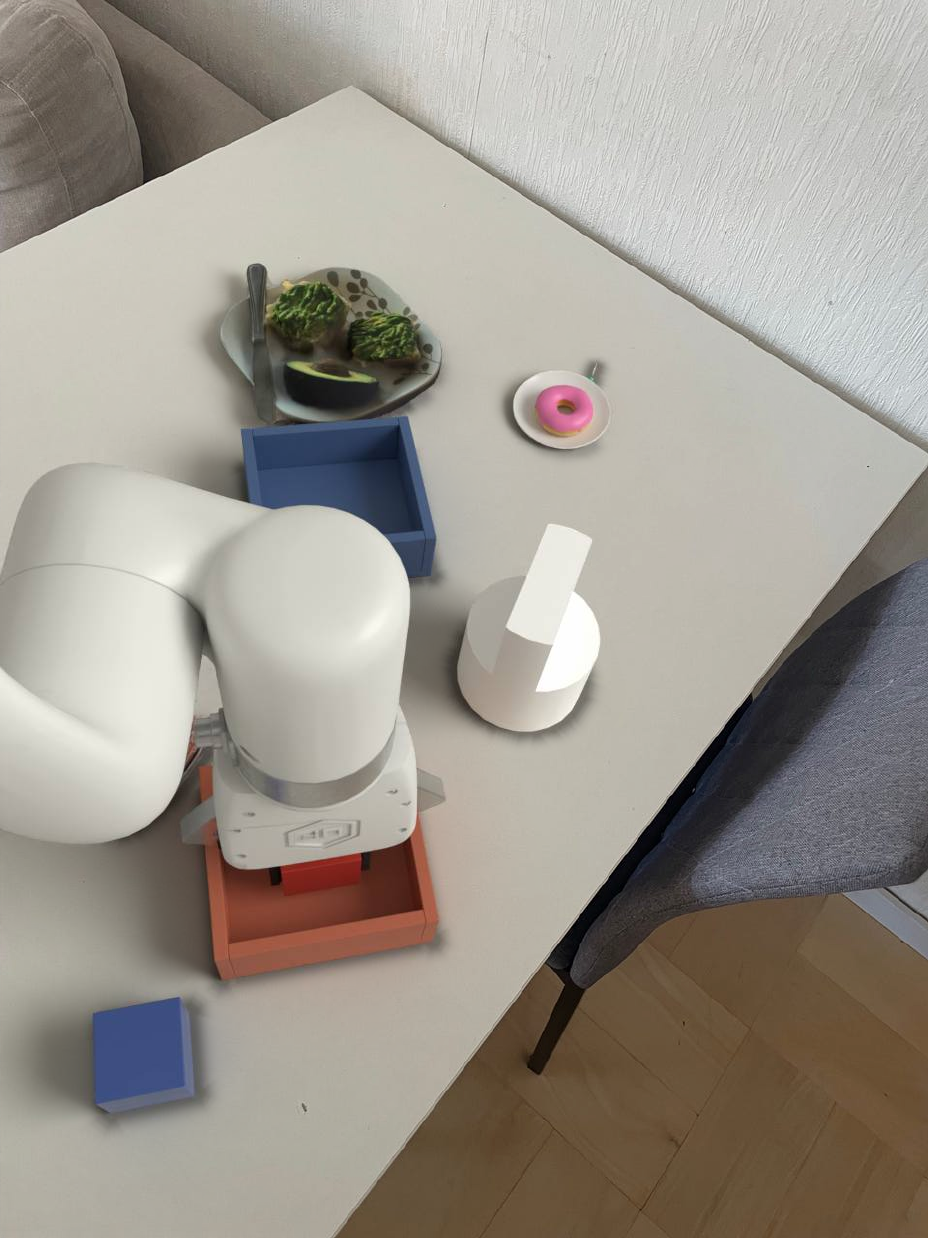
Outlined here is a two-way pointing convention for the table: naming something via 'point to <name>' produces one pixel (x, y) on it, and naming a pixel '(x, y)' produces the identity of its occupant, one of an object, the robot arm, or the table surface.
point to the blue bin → (347, 478)
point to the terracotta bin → (317, 910)
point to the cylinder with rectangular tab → (531, 640)
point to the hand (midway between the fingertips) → (317, 852)
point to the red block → (321, 874)
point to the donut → (561, 409)
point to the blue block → (142, 1055)
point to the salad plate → (329, 346)
